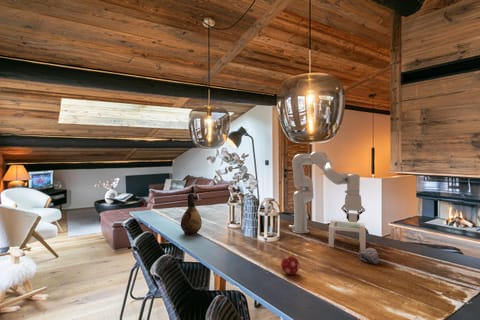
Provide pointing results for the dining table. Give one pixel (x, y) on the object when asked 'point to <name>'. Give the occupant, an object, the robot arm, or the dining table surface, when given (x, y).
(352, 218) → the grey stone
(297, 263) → the christmas ornament
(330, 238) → the frame
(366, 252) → the pumice stone
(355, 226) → the trapdoor
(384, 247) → the dining table surface
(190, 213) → the ceramic jug
